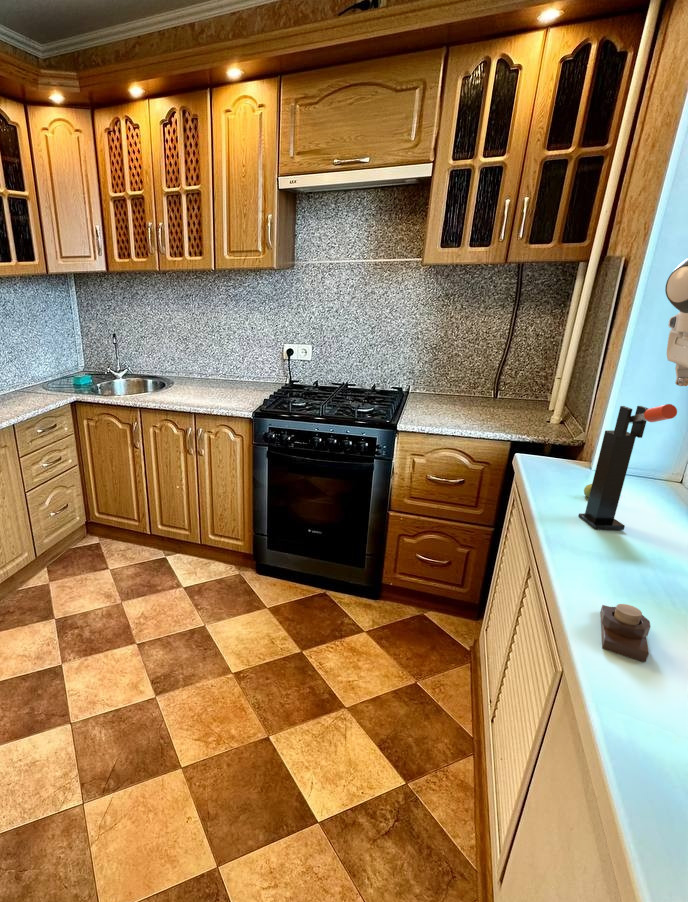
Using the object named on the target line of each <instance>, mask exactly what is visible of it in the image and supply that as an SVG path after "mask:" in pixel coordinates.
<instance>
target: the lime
mask: <svg viewBox="0 0 688 902" xmlns="http://www.w3.org/2000/svg"><path fill="white" fill-rule="evenodd" d="M591 487H592V483H589V484H587V485H586V486H584V488H583V494H584V496H585V497H587V499H589V495H590V491H591Z"/></svg>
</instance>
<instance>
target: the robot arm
mask: <svg viewBox="0 0 688 902" xmlns="http://www.w3.org/2000/svg"><path fill="white" fill-rule="evenodd" d="M664 291H665V296H666V298H667V300H668V301H669V303H670V304H671V305H672V306H673V307H674V308H675V309H676V310H678V311H679V312H678V313H676V314H675V315H673V316H671V317H670V318H669V321H668V328H670V330H669V333H668V337H667V338H668V339H667V344H666V345H667V346H666V359H667V361H668V362H671V363H674V364H675V367H674V370H675V376H676V377H675V382H674V383H675V385H676V386H679V387H687V386H688V257H687V258H686V259H684V260H683V261H682V262H681V263H679V264H678V265H677V266H676V267H675V268H674V269H673V270H672V272H671V273H670V274H669V276H668V278H667V280H666V283H665V290H664Z"/></svg>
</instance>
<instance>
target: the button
mask: <svg viewBox="0 0 688 902" xmlns="http://www.w3.org/2000/svg"><path fill="white" fill-rule="evenodd" d="M615 607H616V609H615V613H614V618H616V619H617V620H619V621H621V622H623V623H626V624H629V625H638V624H639V622H640V619H641V616H642V615H643V612H642V611H641V609H639V608H637V607H636V606H634V605H631V604H626V603H618V604H617V605H616V606H615Z"/></svg>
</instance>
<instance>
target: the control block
mask: <svg viewBox="0 0 688 902" xmlns="http://www.w3.org/2000/svg"><path fill="white" fill-rule="evenodd" d="M615 609H616V606H609V605H606V604H605V605H604V604H602V605H601V608H600V611H599V614H600V630H601V631H600V632H601V633H600V636H601V649H602V650H605V651H608V652H611V653H614V654H616V655H620V656H623V657H627V658H630V659H633V660H637V661H641V662H644V663H647V659H648V656H649V647H648V641H647V637H648V636H649V633H650V631H651V622H650V621H651V620H650V619H648V618H647V617H645V615H643V614H642V616H641V619H640V622H639V624H638V625H629V624H626V623H623V622H621V621H619V620H617V619H616V618H614V613H615Z"/></svg>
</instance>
